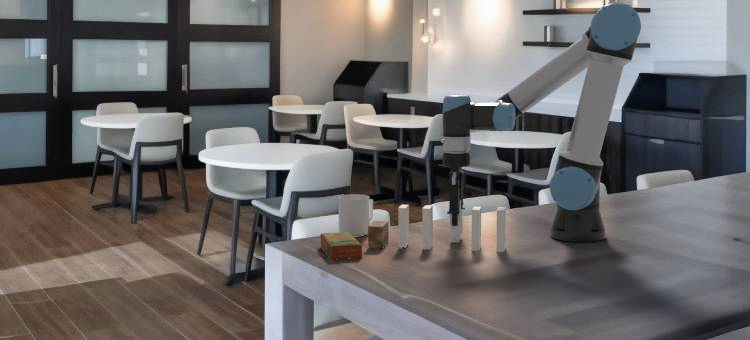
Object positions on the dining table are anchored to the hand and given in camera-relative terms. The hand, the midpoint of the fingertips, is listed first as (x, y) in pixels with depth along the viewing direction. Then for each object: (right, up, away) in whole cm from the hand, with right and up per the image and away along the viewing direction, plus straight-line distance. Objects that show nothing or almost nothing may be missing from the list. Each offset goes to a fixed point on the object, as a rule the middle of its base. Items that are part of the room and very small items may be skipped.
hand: (456, 234), depth 240 cm
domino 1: (-15, -3, -7) cm, 16 cm away
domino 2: (-8, -3, -8) cm, 12 cm away
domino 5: (+11, -3, -12) cm, 16 cm away
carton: (-32, -4, -13) cm, 34 cm away
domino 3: (0, -2, 0) cm, 2 cm away
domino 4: (+4, -3, -11) cm, 12 cm away
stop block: (-22, -2, -5) cm, 22 cm away
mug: (-27, -1, +10) cm, 29 cm away
